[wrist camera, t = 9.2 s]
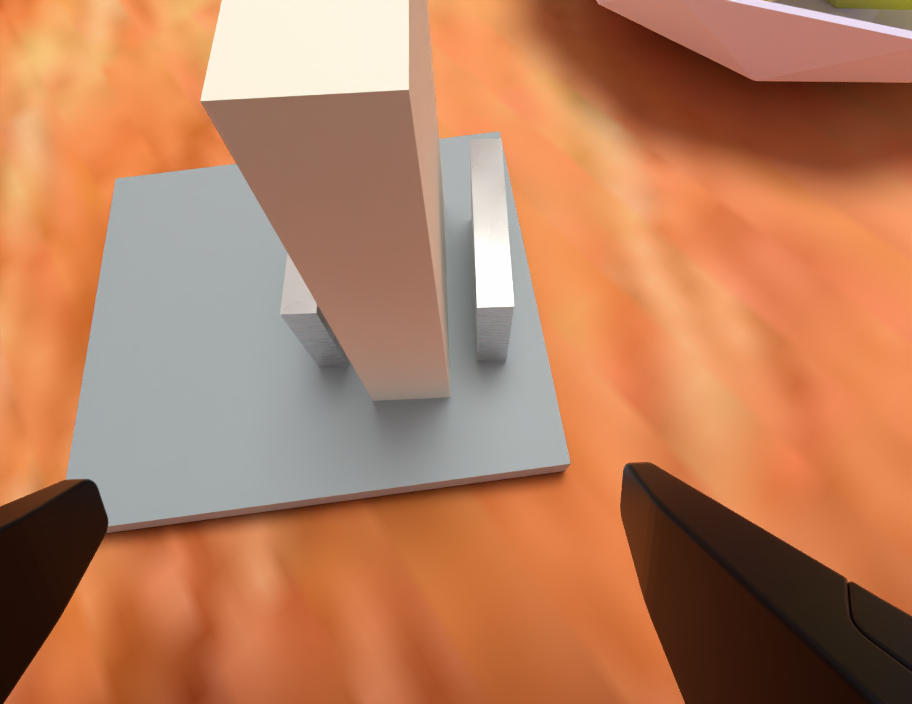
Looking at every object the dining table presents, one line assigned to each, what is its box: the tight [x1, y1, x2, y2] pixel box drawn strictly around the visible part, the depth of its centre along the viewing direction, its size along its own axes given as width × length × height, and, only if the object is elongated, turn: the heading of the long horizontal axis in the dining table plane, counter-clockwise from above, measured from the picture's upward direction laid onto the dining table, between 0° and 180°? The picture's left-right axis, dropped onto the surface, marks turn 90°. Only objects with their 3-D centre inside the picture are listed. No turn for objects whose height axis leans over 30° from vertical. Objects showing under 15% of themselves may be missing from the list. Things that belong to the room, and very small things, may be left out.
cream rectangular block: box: [201, 0, 451, 401], centre depth 14 cm, size 8×4×12 cm, turn 2°
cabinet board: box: [66, 132, 571, 533], centre depth 20 cm, size 14×16×1 cm
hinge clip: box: [280, 138, 514, 368], centre depth 17 cm, size 6×6×4 cm
